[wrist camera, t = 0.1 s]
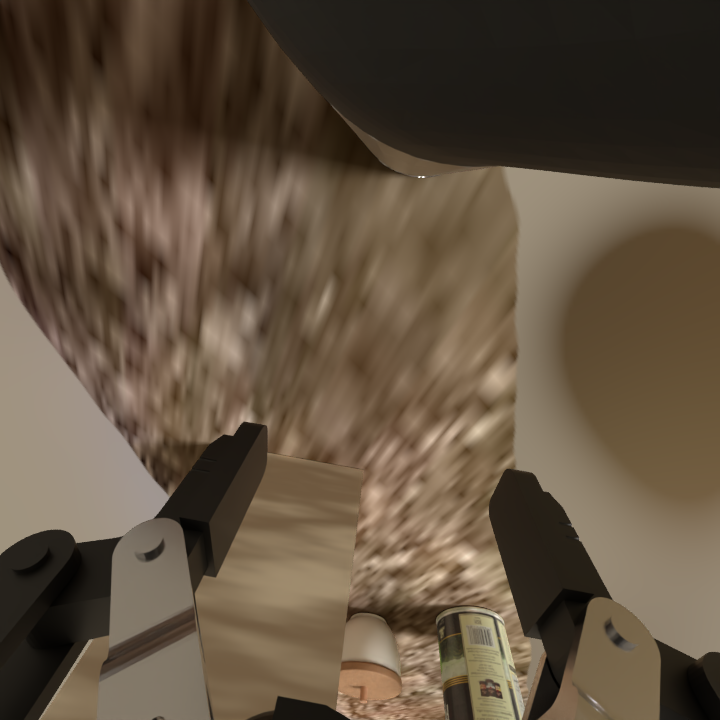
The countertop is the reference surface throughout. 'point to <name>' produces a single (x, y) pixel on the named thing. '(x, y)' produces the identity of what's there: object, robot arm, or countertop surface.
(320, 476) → the stand
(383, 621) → the lidded jar
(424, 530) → the countertop surface
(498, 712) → the coffee can
